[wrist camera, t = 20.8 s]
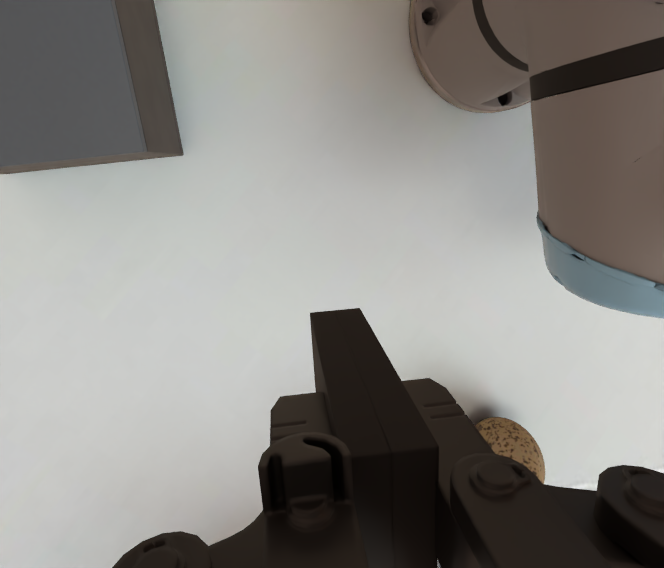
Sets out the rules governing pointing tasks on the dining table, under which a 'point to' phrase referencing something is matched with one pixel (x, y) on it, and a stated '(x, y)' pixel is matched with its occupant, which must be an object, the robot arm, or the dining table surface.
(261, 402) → the dining table surface
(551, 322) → the dining table surface
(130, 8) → the dark grey box
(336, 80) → the dining table surface
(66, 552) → the dining table surface
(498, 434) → the decorative egg
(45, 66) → the dark grey box lid
